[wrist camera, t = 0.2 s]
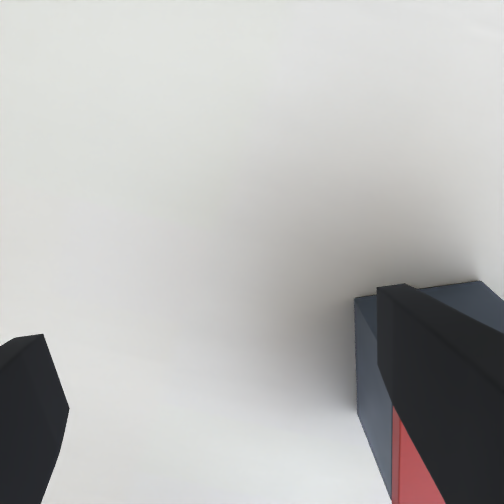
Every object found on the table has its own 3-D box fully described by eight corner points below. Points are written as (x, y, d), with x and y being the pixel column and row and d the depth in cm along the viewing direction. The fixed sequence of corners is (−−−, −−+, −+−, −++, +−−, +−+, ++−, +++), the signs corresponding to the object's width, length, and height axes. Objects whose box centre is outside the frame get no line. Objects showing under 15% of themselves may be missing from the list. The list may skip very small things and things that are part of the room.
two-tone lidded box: (470, 397, 25) (542, 498, 19) (357, 413, 25) (398, 519, 19) (481, 279, 22) (570, 358, 16) (353, 297, 22) (400, 382, 16)
